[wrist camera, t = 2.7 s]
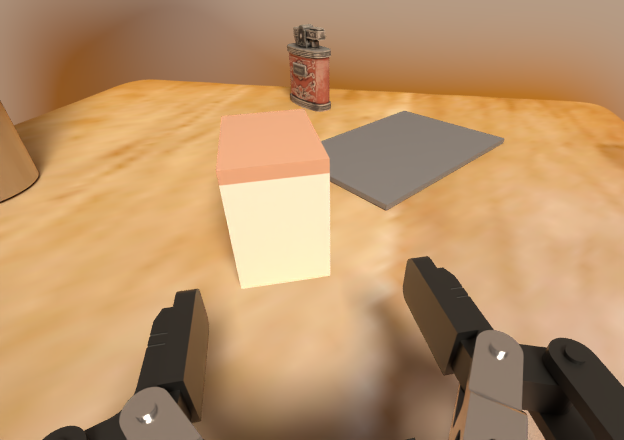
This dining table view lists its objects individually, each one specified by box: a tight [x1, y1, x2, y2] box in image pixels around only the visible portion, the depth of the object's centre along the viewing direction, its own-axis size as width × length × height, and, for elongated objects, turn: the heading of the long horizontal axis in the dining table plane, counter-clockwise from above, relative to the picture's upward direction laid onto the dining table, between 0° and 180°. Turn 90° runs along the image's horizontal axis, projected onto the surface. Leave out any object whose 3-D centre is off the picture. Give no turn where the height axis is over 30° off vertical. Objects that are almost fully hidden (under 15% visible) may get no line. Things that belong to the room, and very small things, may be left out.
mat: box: [321, 111, 504, 210], centre depth 36 cm, size 13×19×1 cm
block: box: [216, 109, 330, 289], centre depth 22 cm, size 8×6×8 cm
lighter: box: [287, 24, 331, 111], centre depth 48 cm, size 8×3×10 cm, turn 35°
